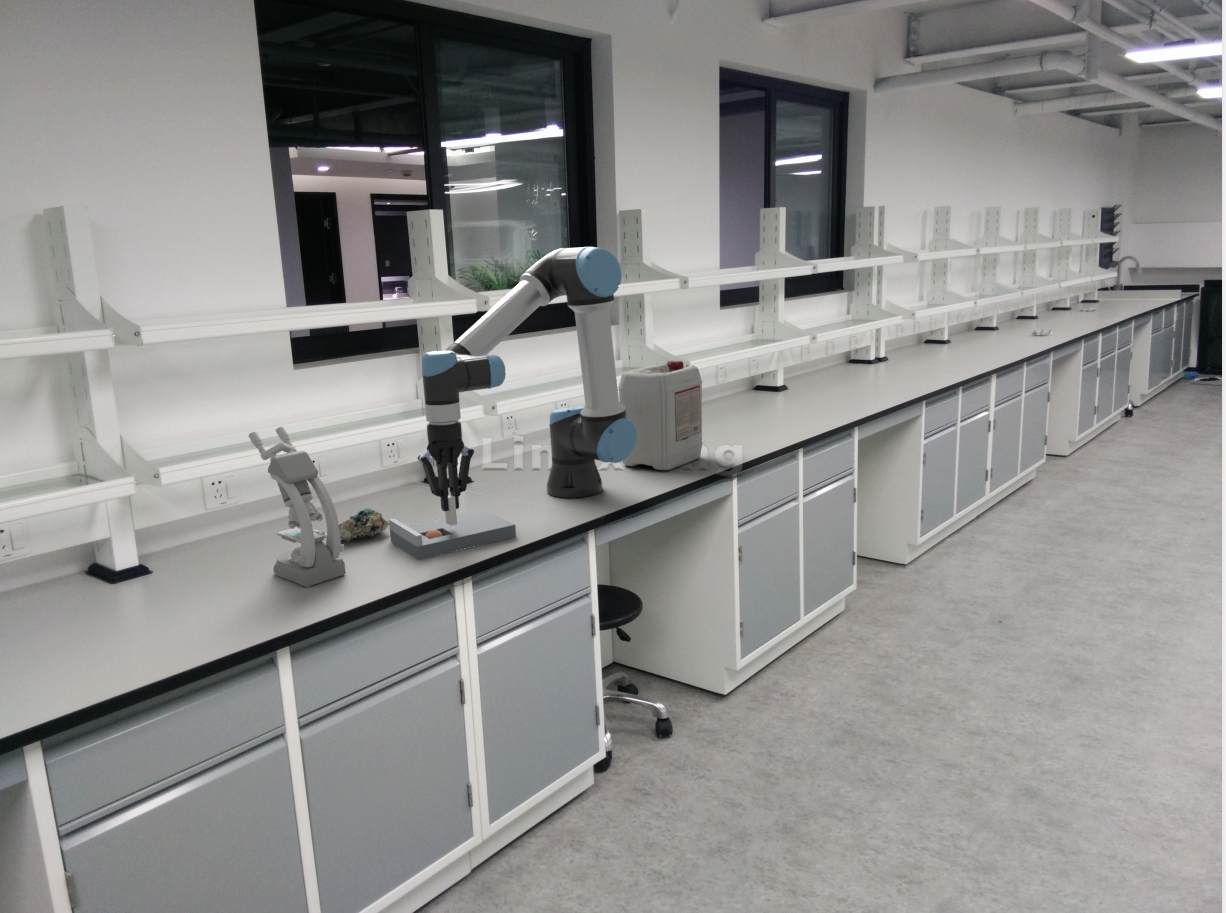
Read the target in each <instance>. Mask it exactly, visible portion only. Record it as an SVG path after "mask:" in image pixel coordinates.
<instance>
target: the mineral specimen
mask: <svg viewBox="0 0 1226 913" xmlns="http://www.w3.org/2000/svg"><path fill="white" fill-rule="evenodd" d="M388 526H389V520H386V519H385V518H384V517H383V515H382V513H380V512H378V511H377V510H373V509H371V508H364V509H362V510H360V511H358V512H357V514H354V515H353V516H352V515H351V516H349V519H347V520H345V521H342V523H339V529H340V540H341V539H342V540H343V541H345V543H346V542H349V543H350V542H351V541H353V539H354V538H355V539H360V538H362V537H364V536H365V535H367V536H368V537H370V538H372V537H373V536H375V535H376V534H378V533H379V532H382V531H383V532H384V531H386V530H387V528H388Z"/></svg>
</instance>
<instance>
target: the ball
mask: <svg viewBox="0 0 1226 913" xmlns="http://www.w3.org/2000/svg"><path fill="white" fill-rule="evenodd" d="M441 536H443V535H442V533H441V532H440V531H438V530H430V531H429V532H428V533H427V534H426V536H425V537H427V538H429V539H432V538H437V537H441Z"/></svg>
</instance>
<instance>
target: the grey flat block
mask: <svg viewBox="0 0 1226 913" xmlns="http://www.w3.org/2000/svg"><path fill="white" fill-rule="evenodd" d="M456 516H457V525H452V526H451V525H449V524H447V523H446V517H443V518H439V519H433V520H428V521H424V522H419V523H413V524H409V525H406V524H404V523H402V522H401V521H400V520H397V519H396V518H390V519H388V523H389V525H388V526H389V534H390V536H389V537H390V543H392V544H393V545H395V546H396V547H398V548H399V549H401V550H403V551H404V552H406V553H408V554H409V555H410V556H412V557H413V558H415V559H417V560H418V561H419V560H423V559H424V560H425V559H428V558H433V557H437V556H441V555H440V554H442V555H445V554H444V553H446V554H449V553H448V552H450V553H453V552H452V551H454V552H457V551H456V550H459V551H461V550H460V549H463V550H465V549H464V548H467V549H470V548H469V547H471V548H474V547H473V546H476V547H479V546H478V545H480V546H483V545H482V544H484V545H488V544H492V543H497V542H499V541H500V542H501V541H505V540H509V539H514V538H516V537H517V531H516V529H517V528H516V527H517V526H516V523H513V522H511V521H508V520H507V519H505V518H503V517H500V516H498V515H496V514H494V513H492V512H490V511H488V510H485V509H481V510H475V511H471V512H467V513H463V514H462V513H461V514H456ZM430 530H438V531H440V532H441V533H442V535H443V536H441V537H437V538H432V539H429V538H427V537H425V536H426V534H427V533H428V532H429V531H430ZM513 537H514V538H513ZM496 541H497V542H496ZM487 543H488V544H487ZM436 555H437V556H436Z"/></svg>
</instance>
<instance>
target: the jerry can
mask: <svg viewBox="0 0 1226 913" xmlns="http://www.w3.org/2000/svg"><path fill="white" fill-rule="evenodd" d="M702 389H703V380H702V376H701V373H700V371H699V368H698V367H697V366H695V365H691V366H687V367H684V362H683V361H682V360H667V362H666V363H661V364H660V363H655V364H652V365H648V366H644V367H639V368H635V369H630V370H628V369H627V370H626V371H622V373H621V377H620V381H619V385H618V399H619V402H620V403H621V404H622V405H623V406H625V409H626V418H627V419H628V420H630V421H632V423H633V424H634V425H635V426H636V429H637V443H636V446H635V448H634V450H632V453H631V455H630V456H629V457H628V458H627V459H625V460H624V461H622V463H623V465H625V466H628V467H636V466H638V465H646V466H652V467H653V469H655V471H656V470H657V471H670V470H673V469H676V468H677V467H681V466H684V465H685V464H689V463H691V462H693V461H695V460H698V459H700V458H701V456H702V455H701V454H702V449H703V390H702Z"/></svg>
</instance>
